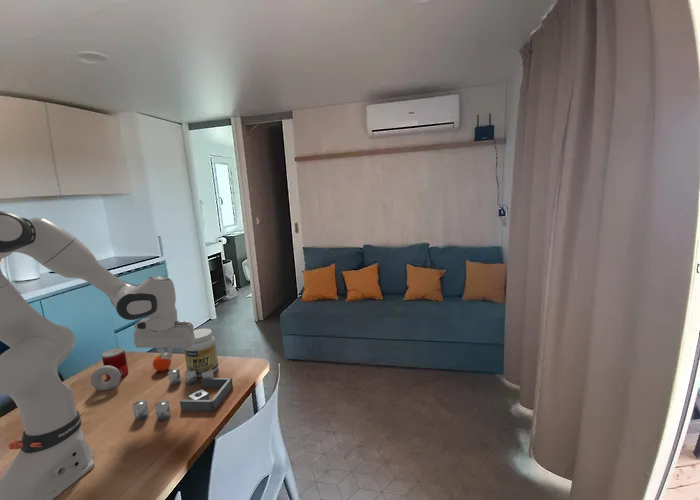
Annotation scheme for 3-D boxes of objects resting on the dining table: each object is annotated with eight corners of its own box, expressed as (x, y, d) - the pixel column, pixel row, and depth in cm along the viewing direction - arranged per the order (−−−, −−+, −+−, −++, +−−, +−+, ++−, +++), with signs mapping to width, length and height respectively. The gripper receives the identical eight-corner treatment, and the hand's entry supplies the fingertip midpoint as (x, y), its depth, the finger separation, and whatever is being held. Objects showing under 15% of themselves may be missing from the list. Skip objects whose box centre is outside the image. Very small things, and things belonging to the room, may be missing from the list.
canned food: (132, 371, 151) (128, 347, 149) (119, 381, 143) (114, 356, 141) (116, 371, 152) (112, 347, 150) (101, 381, 144) (97, 356, 142)
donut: (123, 384, 141) (119, 361, 139) (121, 389, 137) (116, 365, 136) (94, 390, 138) (90, 366, 136) (91, 395, 134) (86, 371, 133)
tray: (214, 411, 120) (212, 401, 119) (181, 410, 121) (179, 401, 121) (232, 386, 135) (231, 378, 134) (203, 386, 136) (202, 378, 135)
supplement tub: (186, 381, 140) (180, 341, 137) (189, 367, 152) (183, 330, 149) (218, 374, 144) (213, 335, 141) (219, 361, 155) (214, 325, 152)
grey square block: (196, 408, 122) (195, 400, 122) (189, 403, 126) (188, 395, 125) (209, 401, 126) (208, 393, 126) (202, 396, 129) (201, 388, 129)
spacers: (180, 421, 115) (178, 407, 115) (129, 420, 117) (127, 407, 116) (216, 379, 140) (214, 368, 139) (173, 379, 142) (171, 368, 141)
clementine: (151, 369, 151) (148, 354, 150) (168, 363, 156) (166, 348, 155) (156, 376, 146) (153, 360, 144) (174, 369, 150) (171, 354, 149)
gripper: (196, 318, 127) (199, 354, 129) (140, 318, 127) (143, 354, 129) (188, 324, 120) (191, 362, 122) (129, 324, 120) (133, 362, 123)
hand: (166, 358), depth 126 cm, fingers closed
